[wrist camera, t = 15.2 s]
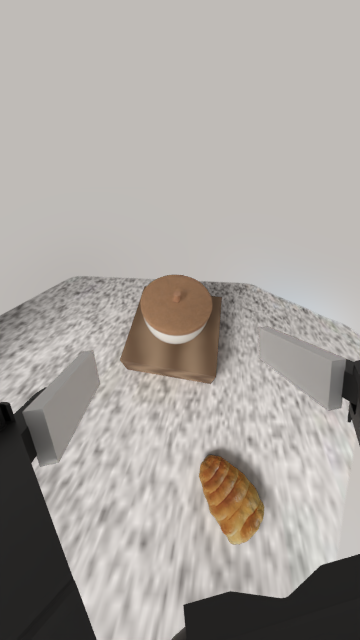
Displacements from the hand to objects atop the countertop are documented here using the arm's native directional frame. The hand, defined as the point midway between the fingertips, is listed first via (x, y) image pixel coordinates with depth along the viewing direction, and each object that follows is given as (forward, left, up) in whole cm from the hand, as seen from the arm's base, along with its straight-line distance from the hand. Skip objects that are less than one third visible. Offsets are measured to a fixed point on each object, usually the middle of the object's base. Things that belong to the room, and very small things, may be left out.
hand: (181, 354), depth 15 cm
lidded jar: (-1, +11, -17) cm, 20 cm away
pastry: (+7, -13, -23) cm, 27 cm away
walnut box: (-1, +11, -23) cm, 25 cm away
